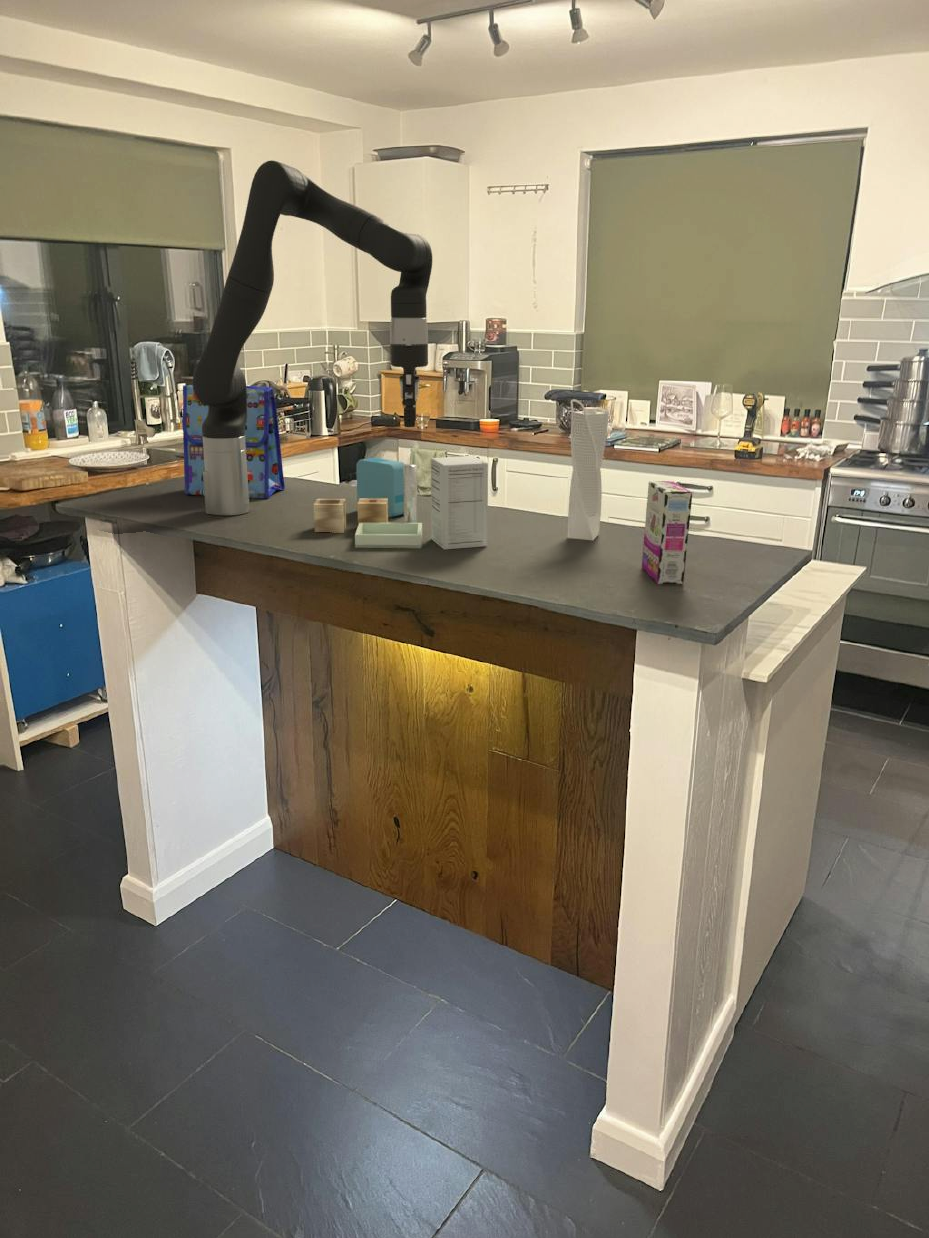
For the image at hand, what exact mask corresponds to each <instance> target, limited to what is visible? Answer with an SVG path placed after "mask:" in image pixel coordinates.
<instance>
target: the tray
mask: <svg viewBox="0 0 929 1238" xmlns="http://www.w3.org/2000/svg"><path fill="white" fill-rule="evenodd" d="M422 541H423V522H417V523H404V522H388V523H359V525H358V524H357V528H356V530H355V534H354V548H355V549H422V543H423V542H422Z"/></svg>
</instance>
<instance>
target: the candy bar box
mask: <svg viewBox="0 0 929 1238" xmlns="http://www.w3.org/2000/svg"><path fill="white" fill-rule="evenodd" d="M647 488H648V489H647V500H646V501H647V502H646V508H645V510H646V511H645V523H644V525H645V526H644V534H643V535H644V537H643V548H642V557H641V558H642V559H641V561H642V562H641V570H643V571H644V573H646V575H647V576H648V577H649V578H651V579H652V580H653V581H654V582H655V583H656V584H657V585H661V586H663V585H664V586H665V585H667V586H668V585H669V586H671V585H672V586H675V585H677V586H678V585H679V584H682V585H684V581H685V571H686V560H687V551H688V541H689V540H688V539H689V534H690V533H689V531H690V521H691V514H692V513H691V512H692V501H693V494H694V493H693V492H692V491H690V489H687V488H685V487H683V486H682V485H681V484H678V483H676V482H675V481H669V480H667V481H665V480H661V481H659V480H658V481H657V480H656V481H655V480H654V481H650V480H649V481H648V486H647ZM679 586H680V585H679Z"/></svg>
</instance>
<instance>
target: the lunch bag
mask: <svg viewBox="0 0 929 1238" xmlns="http://www.w3.org/2000/svg"><path fill="white" fill-rule="evenodd" d="M246 389H247V422H246V425H245V445H246V460H247V475H248V491H249V499H270V498H271V496H272V494H274V493H275V492H276V491H277V490H279V491H285V490H286V486H285V479H284V469H283V467H284V466H283V458H282V450H281V447H282V446H281V439H280V438H281V437H280V430H279V429H280V428H279V419H278V411H277V409H278V408H277V401H276V397H275V393H274V388H273V387H269V386H263V385H262V386H259V385H246ZM182 401H183V402H182V418H181V419H182V420H181V427H182V434H183V435H182V439H183V440H182V441H183V443H182V444H183V471H184V472H183V473H184V476H183V477H184V494H185V495H187V496H188V495H192V496H204V497H205V494H204V481H203V472H204V471H205V461H204V448H203V436H202V424H203V422H204V421H205V419H206V418H207V415H208V406H207V405H205V404H203V403H201V402H200V401H199V400H198V399H197V397H196V396H195V393H194V391H193V384H189V385H185V384H184V385H182Z"/></svg>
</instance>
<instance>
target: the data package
mask: <svg viewBox="0 0 929 1238" xmlns="http://www.w3.org/2000/svg"><path fill="white" fill-rule="evenodd" d="M403 465H405V463H404V462H403V461H398V460H390V459H386V458H385V459H384V458H377V457H368V458H364V459H359V460H358V461H357V462H356V466H355V467H356V499H357V501H356V502H357V503H356V504H357V506H358V501H359V499H360V498H388V518H393V517H394V518H395V517H398V516H402V515H403V516H404V477H403Z"/></svg>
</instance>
